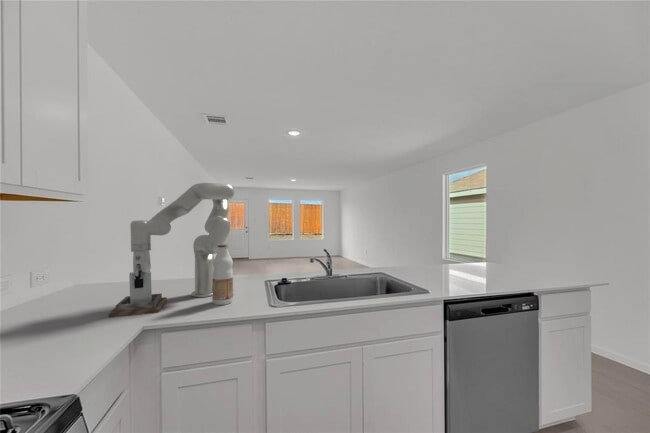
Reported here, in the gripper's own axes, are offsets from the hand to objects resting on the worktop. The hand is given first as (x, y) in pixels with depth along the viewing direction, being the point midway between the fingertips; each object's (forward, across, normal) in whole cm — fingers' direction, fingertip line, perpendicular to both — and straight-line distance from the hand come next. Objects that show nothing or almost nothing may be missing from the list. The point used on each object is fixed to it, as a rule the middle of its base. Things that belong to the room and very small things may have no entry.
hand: (141, 285), depth 125 cm
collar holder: (+10, 0, +1) cm, 10 cm away
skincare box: (+9, -1, 0) cm, 9 cm away
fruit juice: (+11, -4, -34) cm, 36 cm away
